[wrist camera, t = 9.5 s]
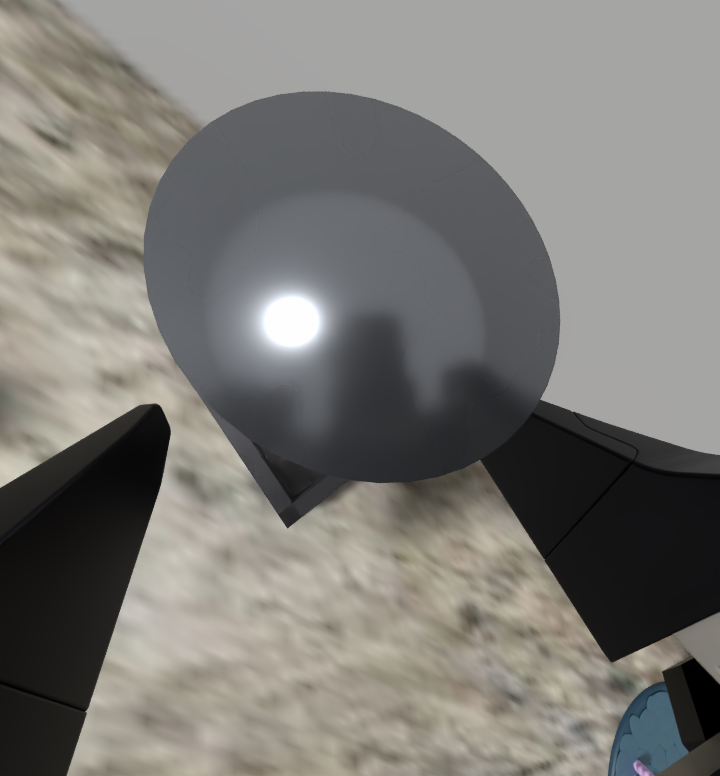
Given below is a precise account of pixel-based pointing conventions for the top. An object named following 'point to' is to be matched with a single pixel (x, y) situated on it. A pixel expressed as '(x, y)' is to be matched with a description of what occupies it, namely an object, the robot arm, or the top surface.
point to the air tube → (351, 287)
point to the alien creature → (647, 736)
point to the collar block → (280, 476)
